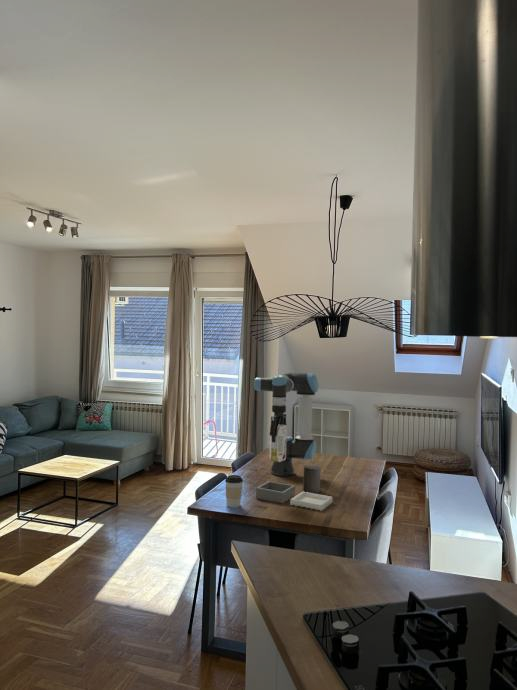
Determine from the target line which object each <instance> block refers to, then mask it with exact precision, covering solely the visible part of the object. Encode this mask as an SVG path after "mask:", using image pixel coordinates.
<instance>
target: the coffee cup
mask: <svg viewBox="0 0 517 690" xmlns="http://www.w3.org/2000/svg"><path fill="white" fill-rule="evenodd" d="M224 479H225V480H224V481H225V498H226V506H227V507H228V506H229V507H228V508H239V507H241V499H242V494H243V493H242V492H243V483H244V478H243V477H242V476H241V475H238V474H230V475H227V477H225V478H224Z"/></svg>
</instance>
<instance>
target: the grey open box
mask: <svg viewBox="0 0 517 690" xmlns="http://www.w3.org/2000/svg"><path fill="white" fill-rule="evenodd" d="M293 496H294V497H295V496H296V485H293V484H286V483H281V482H276V481H270V480H269V481H266V482H265V483H263V484H260V485H259V486H257V487H256V489H255V499H258V498H259V499H260V500H265V501H269V502H274V501H275V502H274V503H279V502H281V503H280V504H284V503H286V502H288V501H289V500H290V499H292V498H293ZM288 499H289V500H288ZM285 501H286V502H285ZM283 502H284V503H283Z"/></svg>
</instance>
